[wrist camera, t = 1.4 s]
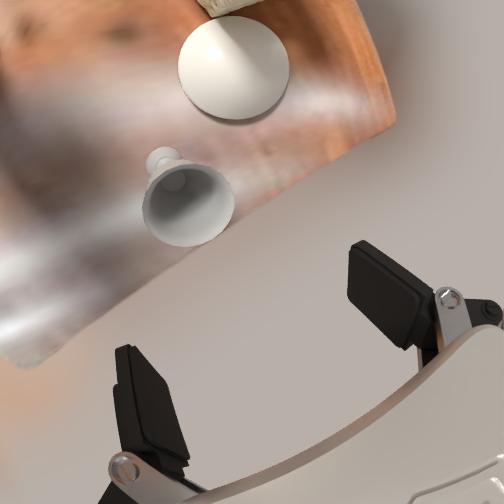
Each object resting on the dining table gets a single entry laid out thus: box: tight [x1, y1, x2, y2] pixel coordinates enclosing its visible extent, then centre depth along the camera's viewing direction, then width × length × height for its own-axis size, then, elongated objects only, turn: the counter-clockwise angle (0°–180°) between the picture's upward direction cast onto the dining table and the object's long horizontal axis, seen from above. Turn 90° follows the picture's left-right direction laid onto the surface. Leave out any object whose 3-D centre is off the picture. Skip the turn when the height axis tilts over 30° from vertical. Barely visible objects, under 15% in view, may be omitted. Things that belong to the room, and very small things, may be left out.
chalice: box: [142, 147, 234, 247], centre depth 27 cm, size 7×7×18 cm
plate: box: [177, 16, 289, 119], centre depth 31 cm, size 16×16×1 cm
